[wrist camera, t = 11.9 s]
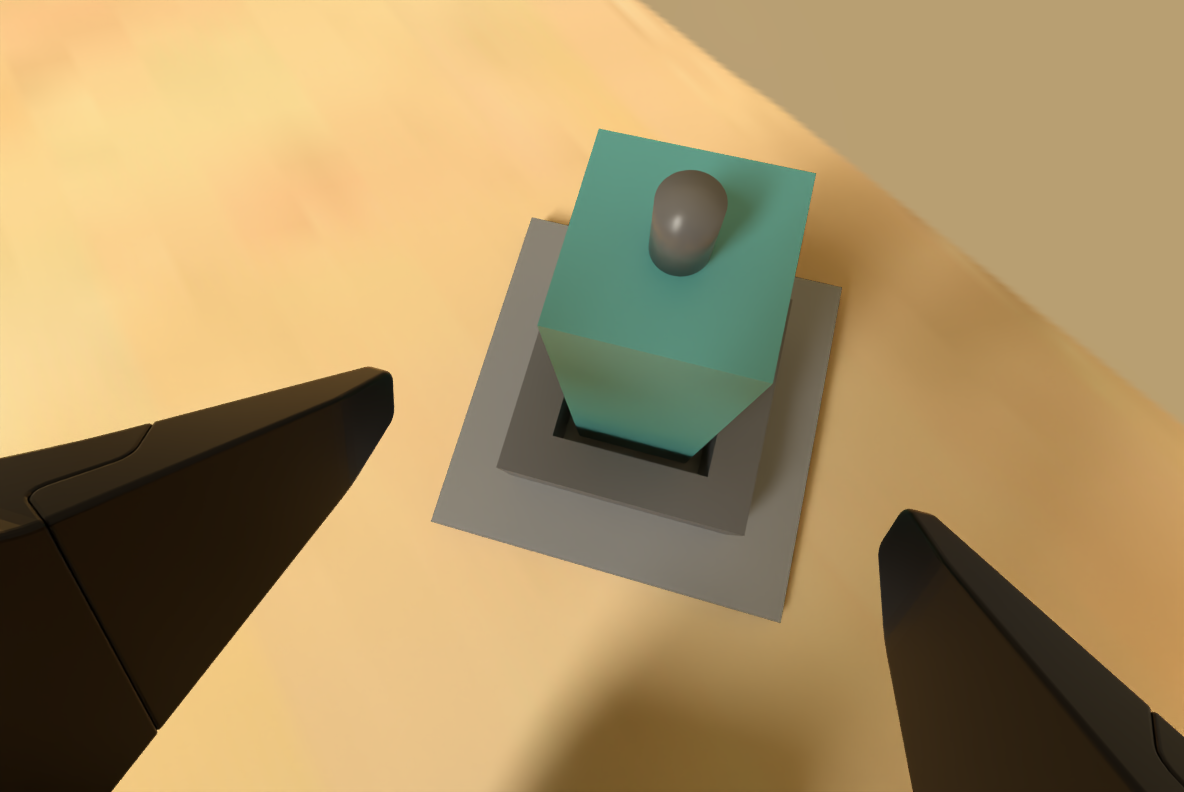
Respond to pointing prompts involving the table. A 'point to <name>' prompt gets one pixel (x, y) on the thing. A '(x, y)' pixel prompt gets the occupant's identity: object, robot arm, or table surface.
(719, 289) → the plug
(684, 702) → the table surface
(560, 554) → the socket
